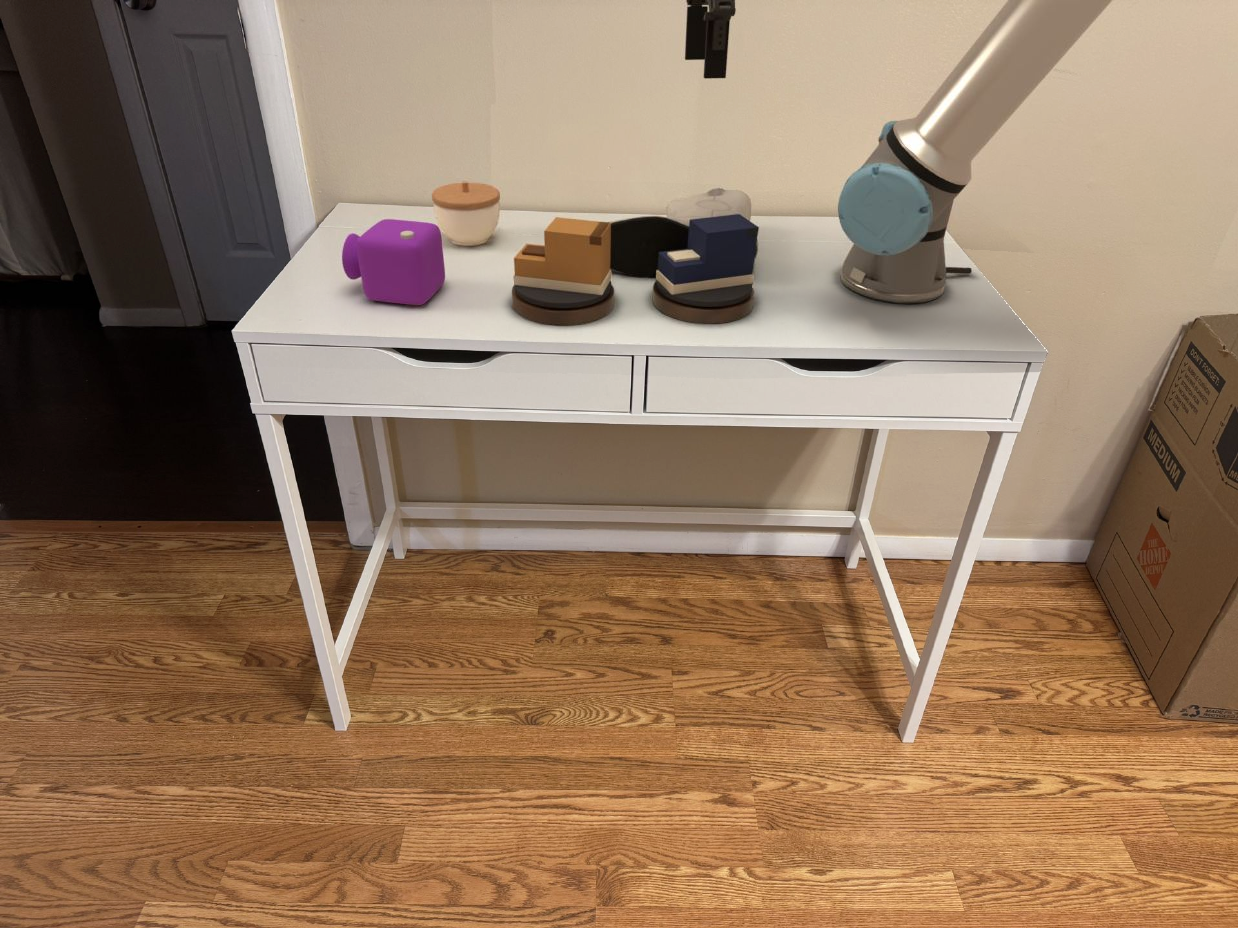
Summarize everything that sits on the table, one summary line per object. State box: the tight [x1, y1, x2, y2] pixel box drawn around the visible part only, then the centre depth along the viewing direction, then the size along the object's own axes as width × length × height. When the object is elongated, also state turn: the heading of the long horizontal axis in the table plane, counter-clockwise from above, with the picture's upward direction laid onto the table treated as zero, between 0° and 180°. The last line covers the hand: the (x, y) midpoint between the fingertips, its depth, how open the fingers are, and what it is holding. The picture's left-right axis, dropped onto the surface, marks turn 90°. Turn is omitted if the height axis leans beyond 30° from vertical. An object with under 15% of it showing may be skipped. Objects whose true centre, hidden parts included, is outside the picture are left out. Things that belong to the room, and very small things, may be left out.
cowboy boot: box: [609, 187, 759, 278], centre depth 134 cm, size 10×28×25 cm
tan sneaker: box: [513, 216, 613, 308], centre depth 114 cm, size 14×14×9 cm
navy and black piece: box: [655, 214, 760, 307], centre depth 116 cm, size 14×14×9 cm
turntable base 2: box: [652, 280, 755, 325], centre depth 119 cm, size 14×14×2 cm
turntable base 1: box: [511, 285, 615, 326], centre depth 118 cm, size 14×14×2 cm
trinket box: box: [431, 180, 501, 247], centre depth 135 cm, size 11×11×9 cm
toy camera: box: [341, 218, 446, 306], centre depth 117 cm, size 11×14×10 cm
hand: (704, 68), depth 111 cm, fingers open, 13 cm apart
